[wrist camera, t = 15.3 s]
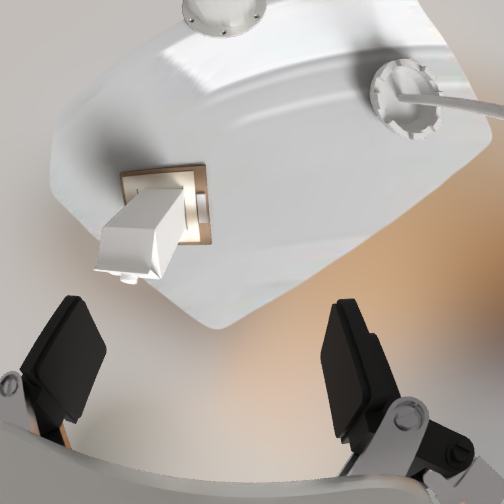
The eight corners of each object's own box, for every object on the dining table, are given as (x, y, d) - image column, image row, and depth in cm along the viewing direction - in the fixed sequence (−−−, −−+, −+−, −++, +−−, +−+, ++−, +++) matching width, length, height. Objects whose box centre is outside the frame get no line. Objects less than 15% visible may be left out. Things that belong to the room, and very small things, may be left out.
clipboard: (121, 172, 42) (117, 174, 41) (205, 165, 42) (204, 166, 41) (134, 244, 49) (132, 247, 48) (211, 242, 49) (210, 246, 48)
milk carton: (143, 188, 43) (86, 242, 26) (184, 188, 43) (143, 246, 27) (147, 226, 46) (100, 293, 30) (185, 228, 47) (152, 300, 30)
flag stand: (357, 122, 38) (498, 172, 12) (369, 51, 32) (511, 20, 6) (420, 143, 39) (555, 212, 13) (432, 78, 32) (573, 98, 7)
